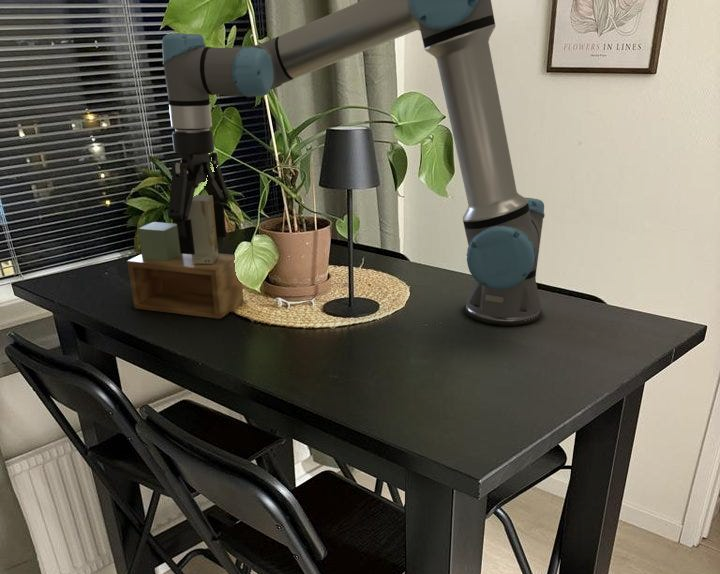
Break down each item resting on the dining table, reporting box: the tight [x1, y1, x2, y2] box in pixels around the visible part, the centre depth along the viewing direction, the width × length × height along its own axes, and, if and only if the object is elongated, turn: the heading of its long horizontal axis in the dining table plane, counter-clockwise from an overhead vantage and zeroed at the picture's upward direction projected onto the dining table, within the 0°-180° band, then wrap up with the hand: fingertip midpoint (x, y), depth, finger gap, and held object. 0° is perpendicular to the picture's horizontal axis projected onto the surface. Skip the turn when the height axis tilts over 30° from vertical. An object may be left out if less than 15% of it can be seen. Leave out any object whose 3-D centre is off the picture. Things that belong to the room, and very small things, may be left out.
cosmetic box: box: [188, 194, 219, 264], centre depth 151 cm, size 6×4×12 cm
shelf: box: [126, 252, 244, 320], centre depth 158 cm, size 11×20×10 cm, turn 72°
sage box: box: [137, 221, 181, 261], centre depth 155 cm, size 6×6×6 cm
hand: (204, 244), depth 152 cm, fingers open, 13 cm apart
